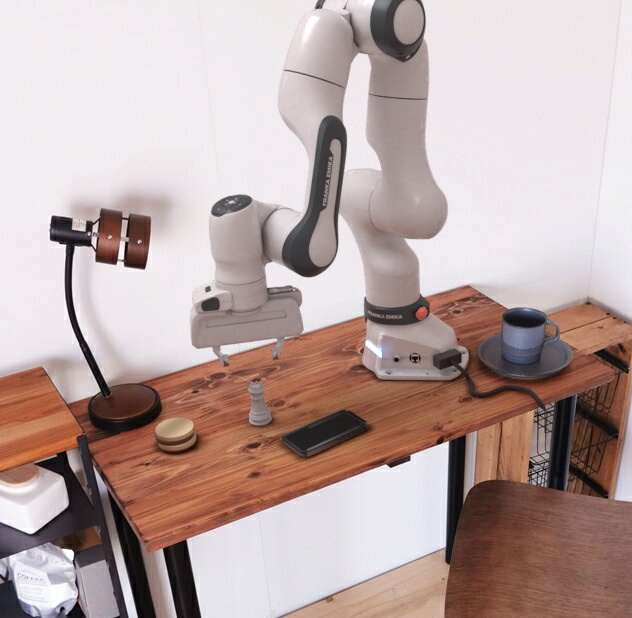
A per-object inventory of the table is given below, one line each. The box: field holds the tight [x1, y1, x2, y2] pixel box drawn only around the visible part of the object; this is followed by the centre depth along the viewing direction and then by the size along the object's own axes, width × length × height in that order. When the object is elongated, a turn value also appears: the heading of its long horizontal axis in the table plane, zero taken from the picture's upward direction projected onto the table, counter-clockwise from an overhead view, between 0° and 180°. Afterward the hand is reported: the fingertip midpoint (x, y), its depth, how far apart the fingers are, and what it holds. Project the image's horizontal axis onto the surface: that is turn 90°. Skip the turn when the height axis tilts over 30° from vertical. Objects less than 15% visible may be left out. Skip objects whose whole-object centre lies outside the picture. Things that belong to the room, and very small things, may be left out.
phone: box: [282, 408, 369, 458], centre depth 168 cm, size 8×1×15 cm
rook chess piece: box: [247, 380, 273, 427], centre depth 172 cm, size 4×4×8 cm
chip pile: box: [154, 417, 197, 454], centre depth 168 cm, size 8×8×4 cm
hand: (250, 361), depth 167 cm, fingers open, 8 cm apart
